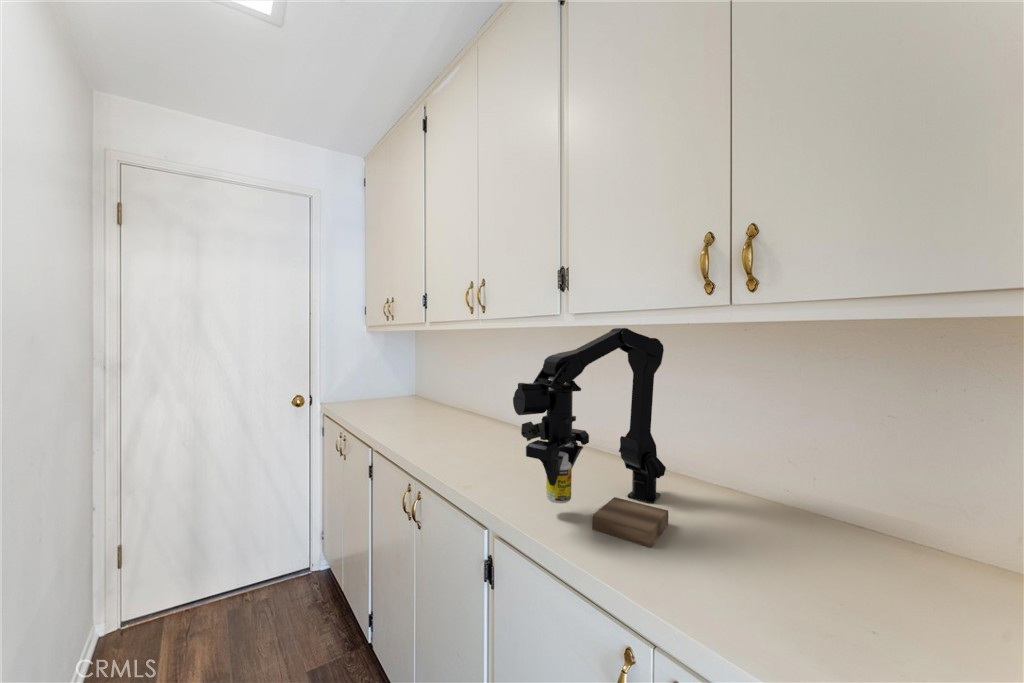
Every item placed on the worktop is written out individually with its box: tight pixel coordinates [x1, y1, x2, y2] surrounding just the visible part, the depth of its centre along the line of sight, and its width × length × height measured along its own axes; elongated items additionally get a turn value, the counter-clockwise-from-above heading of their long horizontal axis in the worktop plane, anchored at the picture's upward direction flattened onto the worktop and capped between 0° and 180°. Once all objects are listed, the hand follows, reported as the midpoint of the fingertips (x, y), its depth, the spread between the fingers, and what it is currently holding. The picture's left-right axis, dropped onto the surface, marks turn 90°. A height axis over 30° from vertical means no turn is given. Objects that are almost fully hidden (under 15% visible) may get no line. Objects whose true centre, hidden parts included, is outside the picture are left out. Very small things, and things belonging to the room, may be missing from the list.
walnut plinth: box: [591, 496, 669, 549], centre depth 85 cm, size 12×12×3 cm
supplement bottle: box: [545, 452, 573, 504], centre depth 91 cm, size 6×6×10 cm
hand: (558, 481), depth 91 cm, fingers closed on supplement bottle, 6 cm apart
